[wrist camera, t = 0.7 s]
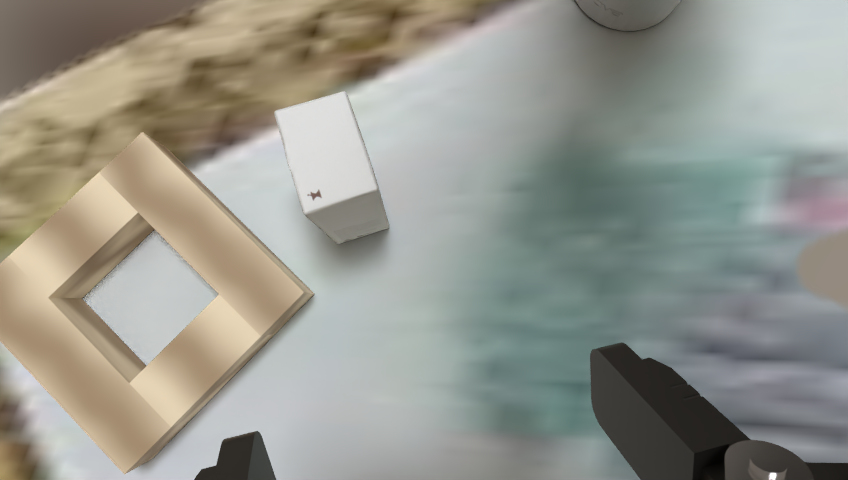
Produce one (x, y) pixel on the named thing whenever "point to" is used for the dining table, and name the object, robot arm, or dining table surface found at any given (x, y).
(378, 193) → the skincare box
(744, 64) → the dining table surface
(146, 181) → the socket block
